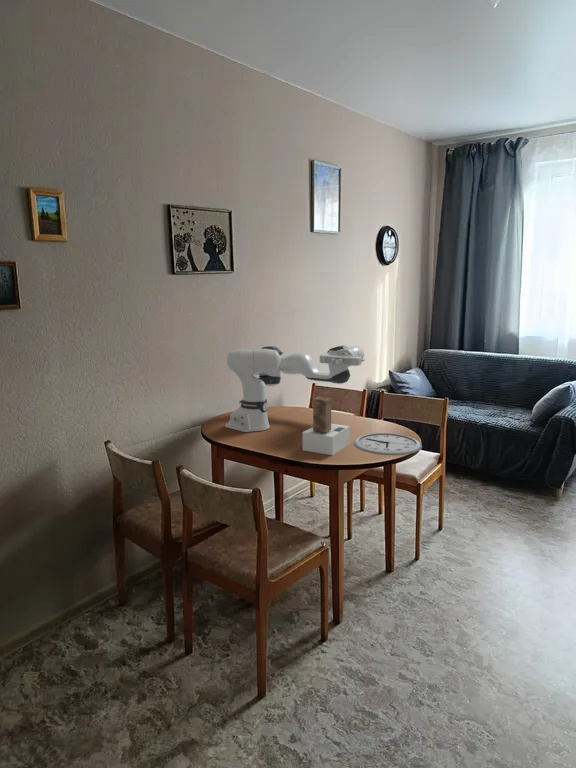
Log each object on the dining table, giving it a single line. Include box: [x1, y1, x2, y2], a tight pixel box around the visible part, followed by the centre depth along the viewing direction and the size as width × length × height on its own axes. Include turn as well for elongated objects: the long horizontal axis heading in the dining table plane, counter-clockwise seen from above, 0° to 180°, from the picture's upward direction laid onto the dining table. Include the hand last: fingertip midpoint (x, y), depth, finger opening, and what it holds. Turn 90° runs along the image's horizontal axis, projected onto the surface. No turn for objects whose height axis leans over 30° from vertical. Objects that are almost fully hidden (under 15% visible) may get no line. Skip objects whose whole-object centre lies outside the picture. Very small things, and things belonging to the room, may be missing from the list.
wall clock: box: [352, 432, 423, 456], centre depth 236 cm, size 30×2×30 cm
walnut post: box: [312, 396, 332, 433], centre depth 226 cm, size 6×5×14 cm
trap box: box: [302, 423, 351, 456], centre depth 232 cm, size 14×18×8 cm
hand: (333, 362), depth 246 cm, fingers closed
